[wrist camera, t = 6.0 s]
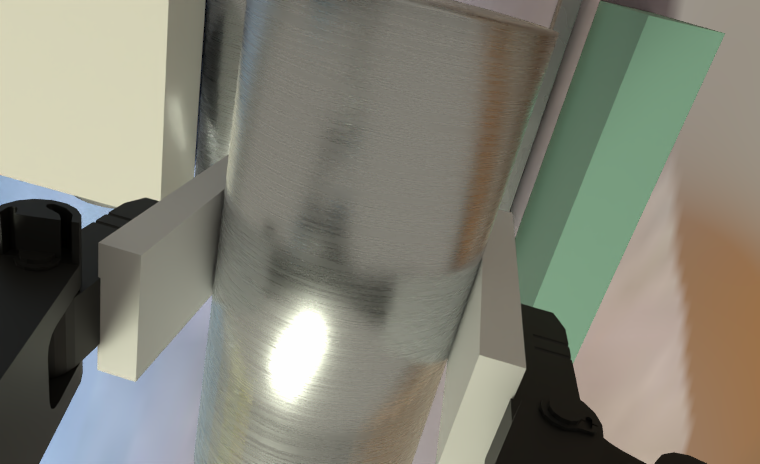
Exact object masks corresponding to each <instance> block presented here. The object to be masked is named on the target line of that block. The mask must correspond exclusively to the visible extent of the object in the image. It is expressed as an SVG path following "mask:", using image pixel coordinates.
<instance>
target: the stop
mask: <svg viewBox="0 0 760 464" xmlns="http://www.w3.org/2000/svg"><path fill="white" fill-rule="evenodd" d="M724 35H725V33H722V32H718V31H715V30H711V29H708V28H704V27H700V26H697V25H693V24H689V23H686V22H683V21H679V20H676V19H672V18H669V17H665V16H662V15H658V14H655V13H651V12H647V11H642V10H638V9H634V8H630V7H625V6H621V5H617V4H613V3H609V2H604V1H600V3H599V6H598V8H597V11H596V14H595V17H594V20H593V22H592V25H591V28H590V31H589V33H588V36H587V39H586V42H585V45H584V47H583V50H582V53H581V56H580V59H579V61H578V64H577V67H576V70H575V73H574V75H573V78H572V81H571V84H570V87H569V89H568V92H567V95H566V98H565V101H564V103H563V106H562V109H561V112H560V114H559V117H558V120H557V123H556V126H555V128H554V131H553V134H552V137H551V140H550V142H549V145H548V148H547V151H546V154H545V156H544V159H543V162H542V165H541V168H540V170H539V173H538V176H537V179H536V181H535V184H534V187H533V190H532V193H531V195H530V198H529V201H528V204H527V207H526V209H525V212H524V215H523V218H522V221H521V223H520V226H519V229H518V232H517V235H516V237H515V245H516V256H517V268H518V279H519V291H520V302H521V304H524V305H528V306H531V307H535V308H538V309H542V310H545V311H549V312H552V313H554V315H555V316H556V317H557V318H558V320H559V321H560V322H561V324H562V325H563V326H564V328H565V329H566V334H567V339H568V344H569V345H568V347H569V349H570V353H571V360H572V363H573V362H574V360H575V358H576V356H577V354H578V351H579V349H580V347H581V345H582V343H583V341H584V338H585V336H586V334H587V332H588V330H589V328H590V325H591V323H592V321H593V319H594V317H595V315H596V312H597V310H598V308H599V306H600V304H601V302H602V299H603V297H604V295H605V293H606V291H607V289H608V286H609V284H610V282H611V280H612V278H613V276H614V273H615V271H616V269H617V267H618V265H619V263H620V260H621V258H622V256H623V254H624V252H625V250H626V247H627V245H628V243H629V241H630V239H631V236H632V234H633V232H634V230H635V228H636V226H637V223H638V221H639V219H640V217H641V215H642V213H643V210H644V208H645V206H646V204H647V202H648V200H649V197H650V195H651V193H652V191H653V189H654V187H655V184H656V182H657V180H658V178H659V176H660V174H661V171H662V169H663V167H664V165H665V163H666V161H667V158H668V156H669V154H670V152H671V150H672V148H673V145H674V143H675V141H676V139H677V137H678V135H679V132H680V130H681V128H682V126H683V124H684V121H685V119H686V117H687V115H688V113H689V111H690V108H691V106H692V104H693V102H694V100H695V98H696V96H697V93H698V91H699V89H700V87H701V85H702V83H703V80H704V78H705V76H706V74H707V72H708V70H709V67H710V65H711V63H712V61H713V58H714V56H715V54H716V52H717V50H718V48H719V46H720V43H721V41H722V39H723V37H724Z"/></svg>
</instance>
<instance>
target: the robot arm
mask: <svg viewBox="0 0 760 464" xmlns="http://www.w3.org/2000/svg"><path fill="white" fill-rule="evenodd" d="M228 157H229V154H228V155H227V156H225V157H224V158H222V159H221V160H219V161H218V162H216V163H215V164H213V165H212V166H210V167H209V168H208V169H206V170H205V171H203V172H202V173H200V174H199V175H197V176H196V177H194V178H193V179H191V180H190V181H188V182H187V183H185V184H184V185H183V186H181V187H180V188H178V189H177V190H175V191H174V192H172V193H171V194H169V195H168V196H166V197H165V198H163V199H162V200H160V201H157V200H153V199H150V198H146V197H145V198H141V199H138V200H134V201H130V202H126V203H123V204H122V205H120V206H118V207H117V208H115V209H114V210H112V211H110V212H109V214H108V215H107V214H106V215H104V216H102V217H101V218H99V219H97V220H96V223H95V222H93V223H91V224H89V225H88V226H86V227H85V228H83V229H81V214H80V213H79V211H78V210H77V209H76V208H74V207H72V206H70V205H68V204H66V203H62V202H58V201H54V200H43V199H29V200H18V201H14V202H10V203H6V204H2V205H1V206H0V464H39V463H40V461H41V459H42V457H43V455H44V453H45V451H46V449H47V447H48V445H49V443H50V441H51V439H52V437H53V435H54V433H55V431H56V429H57V427H58V425H59V424H60V422H61V420H62V418H63V416H64V414H65V412H66V410H67V408H68V406H69V404H70V402H71V400H72V398H73V396H74V394H75V392H76V390H77V388H78V386H79V384H80V382H81V378H82V373H83V366H82V360H83V359H84V358H85V357H86V356H87V355H88V354H89V353H90V352H91V351H93V350H94V349H95V348H96V347H97V346H98V370H99V371H102V372H106V373H109V374H112V375H115V376H119V377H122V378H125V379H128V380H132V381H135V382H136V381H137V380H138V378H139V377H140V376H141V375H142V374H143V373H144V372H145V370H146V369H147V368H148V367H149V366H150V365H151V364H152V362H153V361H154V360H155V359H156V358H157V357H158V356H159V354H160V353H161V352H162V351H163V350H164V349H165V348H166V346H167V345H168V344H169V343H170V342H171V341H172V340H173V338H174V337H175V336H176V335H177V334H178V333H179V332H180V330H181V329H182V328H183V327H184V326H185V325H186V324H187V322H188V321H189V320H190V319H191V318H192V317H193V316H194V315H195V313H196V312H197V311H198V310H199V309H200V308H201V307H202V305H203V304H204V303H205V302H206V301H207V300H208V299H209V297H210V296H211V295H212V294H213V287H214V278H215V269H216V261H217V252H218V243H219V235H220V226H221V217H222V209H223V200H224V191H225V183H226V174H227V165H228ZM568 345H569V344H568V339H567V334H566V329H565V328H564V326H563V325H562V324H561V322H560V321H559V320H558V318H557V317H556V316H555V315H554V313H552V312H549V311H545V310H542V309H538V308H535V307H531V306H528V305H524V304H521V302H520V291H519V279H518V268H517V256H516V245H515V233H514V222H513V213H510V212H507V211H503V210H500V209H499V210H498V213H497V216H496V219H495V222H494V225H493V228H492V231H491V234H490V237H489V239H488V242H487V245H486V248H485V251H484V254H483V257H482V260H481V263H480V266H479V269H478V272H477V274H476V277H475V280H474V283H473V286H472V289H471V292H470V295H469V298H468V301H467V304H466V307H465V309H464V312H463V315H462V318H461V321H460V324H459V327H458V330H457V333H456V336H455V339H454V342H453V345H452V347H451V350H450V353H449V356H448V361H447V370H446V379H445V387H444V396H443V405H442V413H441V422H440V431H439V439H438V448H437V456H436V464H646V463H644V462H642V461H640V460H638V459H637V458H635V457H633V456H631V455H629V454H627V453H625V452H624V451H622V450H620V449H619V448H617V447H615V446H614V445H612V444H611V443H609V442H608V441H607V440H606V439H604V438H603V428H602V424H601V422H600V421H599V419H598V417H597V416H596V414H595V413H594V412H593V411H592V410H591V409H590V408H589V407H588V406H587V405H586V404H585V403H584V402H582V401H581V400H580V397H579V392H578V387H577V382H576V377H575V373H574V368H573V363H572V360H571V353H570V349H569V347H568ZM655 464H707V463H705V462H702V461H700V460H698V459H696V458H694V457H691V456H689V455H684V454H679V453H668V454H663V455H661V456H660V458H659V459H658V460H657V461H656V462H655Z"/></svg>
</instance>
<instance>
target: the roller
mask: <svg viewBox="0 0 760 464" xmlns="http://www.w3.org/2000/svg"><path fill="white" fill-rule="evenodd" d="M558 35H559V33H558V32H556V31H554V30H552V29H549V28H547V27H544V26H541V25H538V24H535V23H532V22H529V21H525V20H522V19H519V18H515V17H512V16H509V15H505V14H502V13H498V12H495V11H491V10H488V9H484V8H480V7H477V6H473V5H469V4H466V3H462V2H458V1H454V0H247V1H246V10H245V18H244V27H243V35H242V44H241V53H240V61H239V70H238V79H237V87H236V96H235V105H234V113H233V122H232V131H231V139H230V148H229V157H228V165H227V174H226V183H225V191H224V200H223V209H222V217H221V226H220V235H219V243H218V252H217V261H216V269H215V278H214V287H213V295H212V304H211V313H210V321H209V330H208V339H207V347H206V356H205V364H204V373H203V382H202V390H201V399H200V408H199V416H198V425H197V434H196V442H195V453H194V464H412V461H413V458H414V456H415V453H416V450H417V447H418V444H419V441H420V438H421V435H422V432H423V429H424V426H425V423H426V421H427V418H428V415H429V412H430V409H431V406H432V403H433V400H434V397H435V394H436V391H437V388H438V385H439V383H440V380H441V377H442V374H443V371H444V368H445V365H446V362H447V359H448V356H449V353H450V350H451V347H452V345H453V342H454V339H455V336H456V333H457V330H458V327H459V324H460V321H461V318H462V315H463V312H464V309H465V307H466V304H467V301H468V298H469V295H470V292H471V289H472V286H473V283H474V280H475V277H476V274H477V272H478V269H479V266H480V263H481V260H482V257H483V254H484V251H485V248H486V245H487V242H488V239H489V237H490V234H491V231H492V228H493V225H494V222H495V219H496V216H497V213H498V210H499V207H500V204H501V202H502V199H503V196H504V193H505V190H506V187H507V184H508V181H509V178H510V175H511V172H512V169H513V166H514V164H515V161H516V158H517V155H518V152H519V149H520V146H521V143H522V140H523V137H524V134H525V131H526V129H527V126H528V123H529V120H530V117H531V114H532V111H533V108H534V105H535V102H536V99H537V96H538V93H539V91H540V88H541V85H542V82H543V79H544V76H545V73H546V70H547V67H548V64H549V61H550V58H551V56H552V53H553V50H554V47H555V44H556V41H557V38H558Z"/></svg>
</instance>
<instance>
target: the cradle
mask: <svg viewBox="0 0 760 464" xmlns="http://www.w3.org/2000/svg"><path fill="white" fill-rule="evenodd" d="M581 2H582V0H558V3H557V6H556V9H555V12H554V16H553V19H552V22H551V25H550V28H549V29H552V30H554V31H556V32H558V33H559V35H558V38H557V41H556V44H555V47H554V50H553V53H552V56H551V58H550V61H549V64H548V67H547V70H546V73H545V76H544V79H543V82H542V85H541V88H540V91H539V93H538V96H537V99H536V102H535V105H534V108H533V111H532V114H531V117H530V120H529V123H528V126H527V129H526V131H525V134H524V137H523V140H522V143H521V146H520V149H519V152H518V155H517V158H516V161H515V164H514V166H513V169H512V172H511V175H510V178H509V181H508V184H507V187H506V190H505V193H504V196H503V199H502V202H501V204H500V207H499V209H500V210H503V211H507V212H509V211H510V208H511V205H512V202H513V200H514V197H515V194H516V191H517V188H518V185H519V182H520V179H521V176H522V173H523V171H524V168H525V165H526V162H527V159H528V156H529V153H530V150H531V147H532V144H533V142H534V139H535V136H536V133H537V130H538V127H539V124H540V121H541V118H542V115H543V113H544V110H545V107H546V104H547V101H548V98H549V95H550V92H551V89H552V86H553V84H554V81H555V78H556V75H557V72H558V69H559V66H560V63H561V60H562V57H563V55H564V52H565V49H566V46H567V43H568V40H569V37H570V34H571V31H572V28H573V26H574V23H575V20H576V17H577V14H578V11H579V8H580V5H581Z"/></svg>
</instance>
